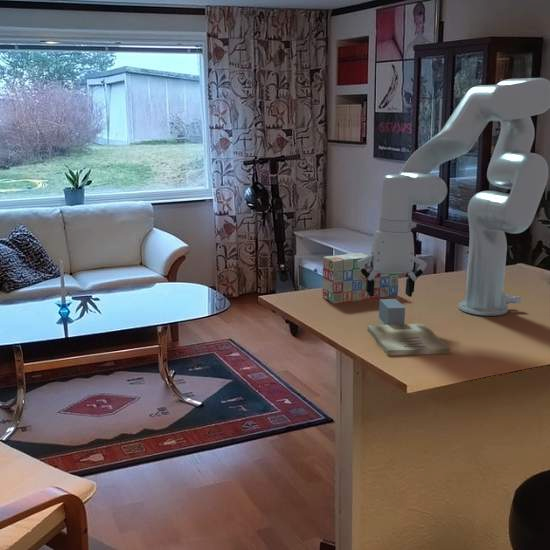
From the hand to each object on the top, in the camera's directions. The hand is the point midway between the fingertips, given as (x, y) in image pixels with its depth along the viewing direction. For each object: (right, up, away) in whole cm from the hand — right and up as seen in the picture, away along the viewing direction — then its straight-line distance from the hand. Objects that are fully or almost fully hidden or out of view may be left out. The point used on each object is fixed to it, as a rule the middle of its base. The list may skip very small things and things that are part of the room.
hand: (389, 295), depth 173 cm
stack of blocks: (-4, -2, +27) cm, 28 cm away
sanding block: (+1, -7, +2) cm, 8 cm away
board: (+2, -10, -10) cm, 15 cm away
